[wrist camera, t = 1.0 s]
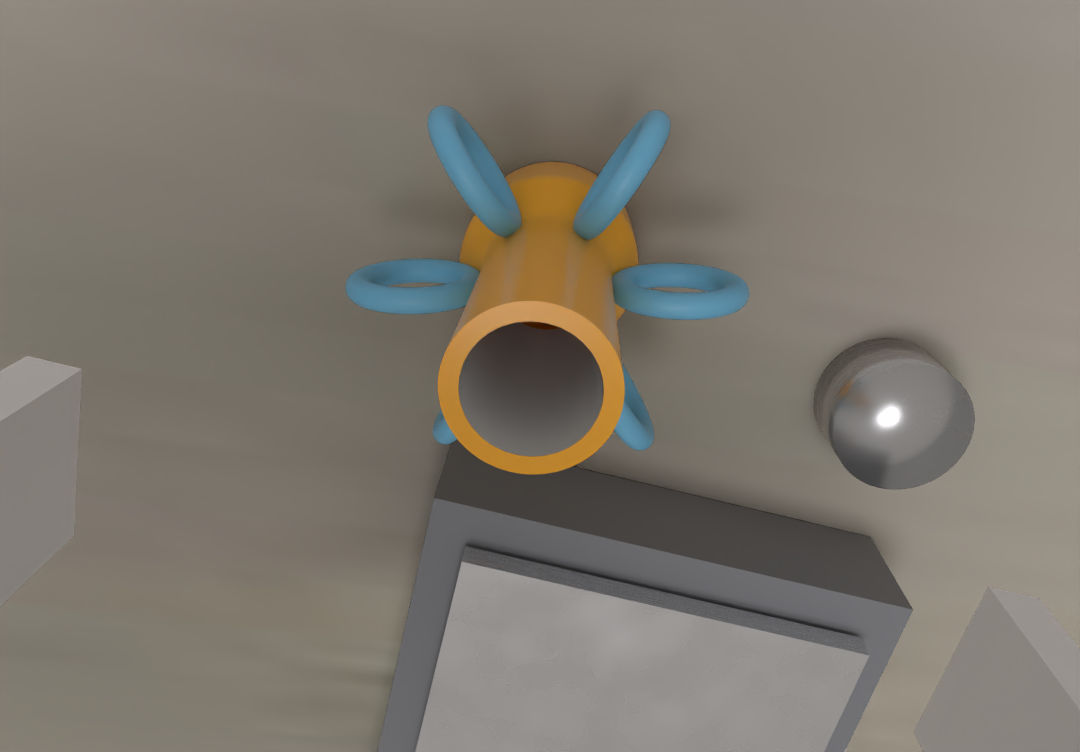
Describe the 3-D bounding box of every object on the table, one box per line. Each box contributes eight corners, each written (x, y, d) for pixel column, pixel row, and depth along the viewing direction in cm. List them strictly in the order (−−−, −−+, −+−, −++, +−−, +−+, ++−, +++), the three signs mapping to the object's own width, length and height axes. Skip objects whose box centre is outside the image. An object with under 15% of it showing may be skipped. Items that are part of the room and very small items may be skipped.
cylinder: (728, 95, 30) (854, 140, 16) (705, 373, 34) (792, 602, 20) (383, 92, 31) (218, 132, 17) (398, 366, 35) (274, 585, 21)
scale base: (379, 763, 42) (354, 852, 37) (453, 438, 36) (434, 497, 31) (751, 844, 43) (772, 942, 38) (889, 541, 36) (934, 614, 32)
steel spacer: (795, 438, 35) (813, 472, 32) (839, 323, 33) (863, 349, 30) (912, 466, 35) (941, 502, 32) (963, 354, 33) (997, 382, 31)
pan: (410, 767, 40) (388, 861, 36) (477, 492, 35) (461, 561, 30) (719, 834, 41) (737, 936, 36) (831, 575, 36) (869, 655, 31)
